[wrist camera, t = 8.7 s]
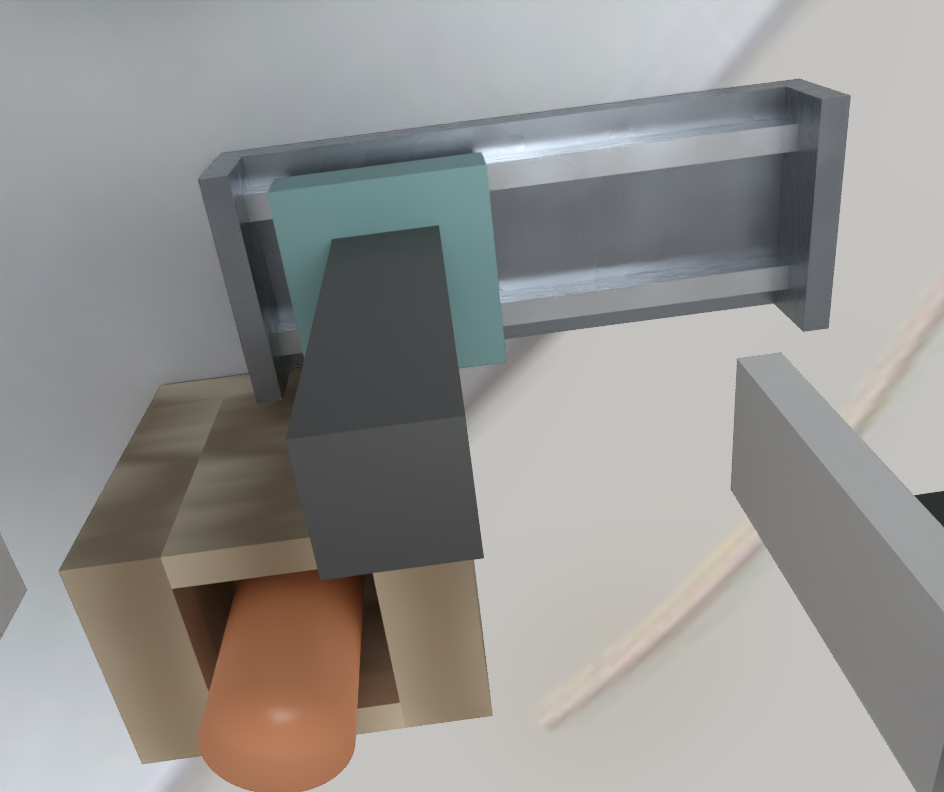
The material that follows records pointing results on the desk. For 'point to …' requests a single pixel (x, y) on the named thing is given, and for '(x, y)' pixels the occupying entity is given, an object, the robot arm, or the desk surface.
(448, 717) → the wooden box
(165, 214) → the desk surface
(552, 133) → the rail track
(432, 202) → the carriage
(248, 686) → the orange cylinder
